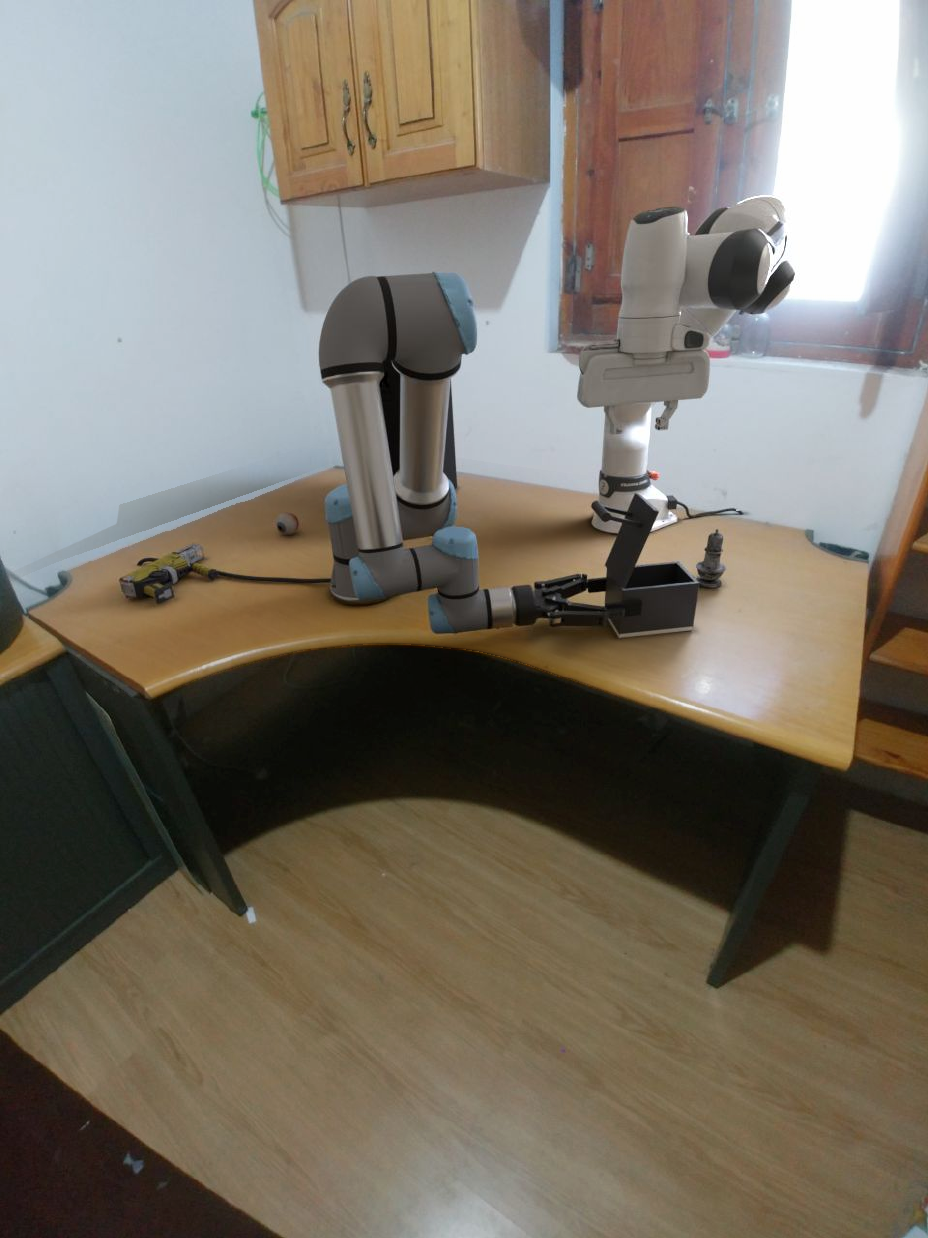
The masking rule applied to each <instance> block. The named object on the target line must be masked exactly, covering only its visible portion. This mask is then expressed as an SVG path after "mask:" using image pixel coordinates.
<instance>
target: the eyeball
mask: <svg viewBox="0 0 928 1238" xmlns="http://www.w3.org/2000/svg"><path fill="white" fill-rule="evenodd" d="M299 525H300V522H299V519H298V517H297V516H296V515H295V514H294V513H292V512H287V511H286V512H282V513H280V514H279V515H278V516H277V517H276V520H275V527H276V529H277V530H278V531H279V532H280V533H281V534H282V535H285V536H286V535H287V536H289V535H293V534H295V533H296V532H297V531H298V529H299Z"/></svg>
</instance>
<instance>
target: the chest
mask: <svg viewBox="0 0 928 1238" xmlns="http://www.w3.org/2000/svg"><path fill="white" fill-rule="evenodd" d="M605 577H606V590H605V591H604V605H603V606H604V607H605V604H606V603H616V602H626V601H636V600H641V601H642V607H641V615H637V616H628V617H620V618H610V619H607V621H608V623H609V624H610V625H611V627H612V629H613V631H614V632H615V635H617V637H618V639H620V638H621V639H622V638H629V637H631V638H632V637H638V636H639V637H641V636H650V635H659V634H667V633H679V632H686V631H693V630H694V623H695V616H696V611H697V605H698V604H697V603H698V597H699V591H700V585H699V584H700V583H699V582H698V581H697V580H696V577H694V575H693V574H691V573H690V571H689V570H687V568H686V567H685V566H683V564H682V563H681V562H680V561H679V560H678V561H667V562H657V563H648V564H636V565H635V567H634V570H633V572H632V574H631V576H630V579H629V581H628V583H627V585H626V588H621V587H620V586H619V585H618V583H617V582H616V581H615V579H614V578H613V576H612V575H611V573H610V572H609V571H608V569H607V568H606V575H605Z"/></svg>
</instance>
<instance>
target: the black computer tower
mask: <svg viewBox="0 0 928 1238" xmlns="http://www.w3.org/2000/svg"><path fill="white" fill-rule="evenodd" d="M383 370H384V376H383V378H382V379H381V381H380V383H379V387H380V394H381V400H382V407H383V413H384V420H385V427H386V433H387V440H388V446H389V453H390V459H391V466H392V472H393V477H394V475H395V473H396V472H397V471H398V470H400V376H401V374H400V373H399V372H397V371H396V369H395V368H394V367H393V365H392V361H383ZM452 388H453V387H452V380H451V381H450V393H449V405H448V417H447V428H446V440H445V452H444V464H443V473H444V474H445V475H446V476H447V478H448V479H449V480H450V481H451V482H452V484H453V486H454V489H455V490H456V489H457V488H458V478H457V477H458V475H457V459H456V441H455V424H454V407H453V391H452V390H453V389H452Z"/></svg>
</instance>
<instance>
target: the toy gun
mask: <svg viewBox="0 0 928 1238" xmlns="http://www.w3.org/2000/svg"><path fill="white" fill-rule="evenodd" d="M200 551H201V552H202V554H198V553H199V552H200ZM203 559H205V553H204V546H203V545H201V544H197V543H194V542H192V543H191V544H189V545H187V546H185V547H183V548H181V549H179V550H177V551H173V552H171V553H168V554H167V555H164V556H163V557H160V558H158V560H156V561H154V562H149V563H148V564H146V565H143V566H141V567H139V568H137V569H135V570H132V571H131V572H129V573H126V574H124V575H122V576H121V577H119V579H118V582H119V585H120V589H121V590H120V591H121V592H122V594H123V595H124V596H125V598H129V599H133V598H136V599H137V598H138V599H141V598H145V597H149V596H150V597H153V598H154V599H155V602H156V604H157V605H160V604H162V603H164V602H166V601H168V600H171V599H174V598H175V594H174V590H173V585H175V584H177V583H178V580H179V579H180V578H182V577H184V576H185V577H186V576H187V575H190V573H194V574H198V575H200V576H203V577H204V578H208V579H209V580H211V581H213V580H216V579H218V577H219V575H218V571H219V570H217V569H216V568H211V567H208V566H206V565H203V564H200V563H198V562H199V561H200V560H203ZM189 564H193V565H192V566H190V565H189Z"/></svg>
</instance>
